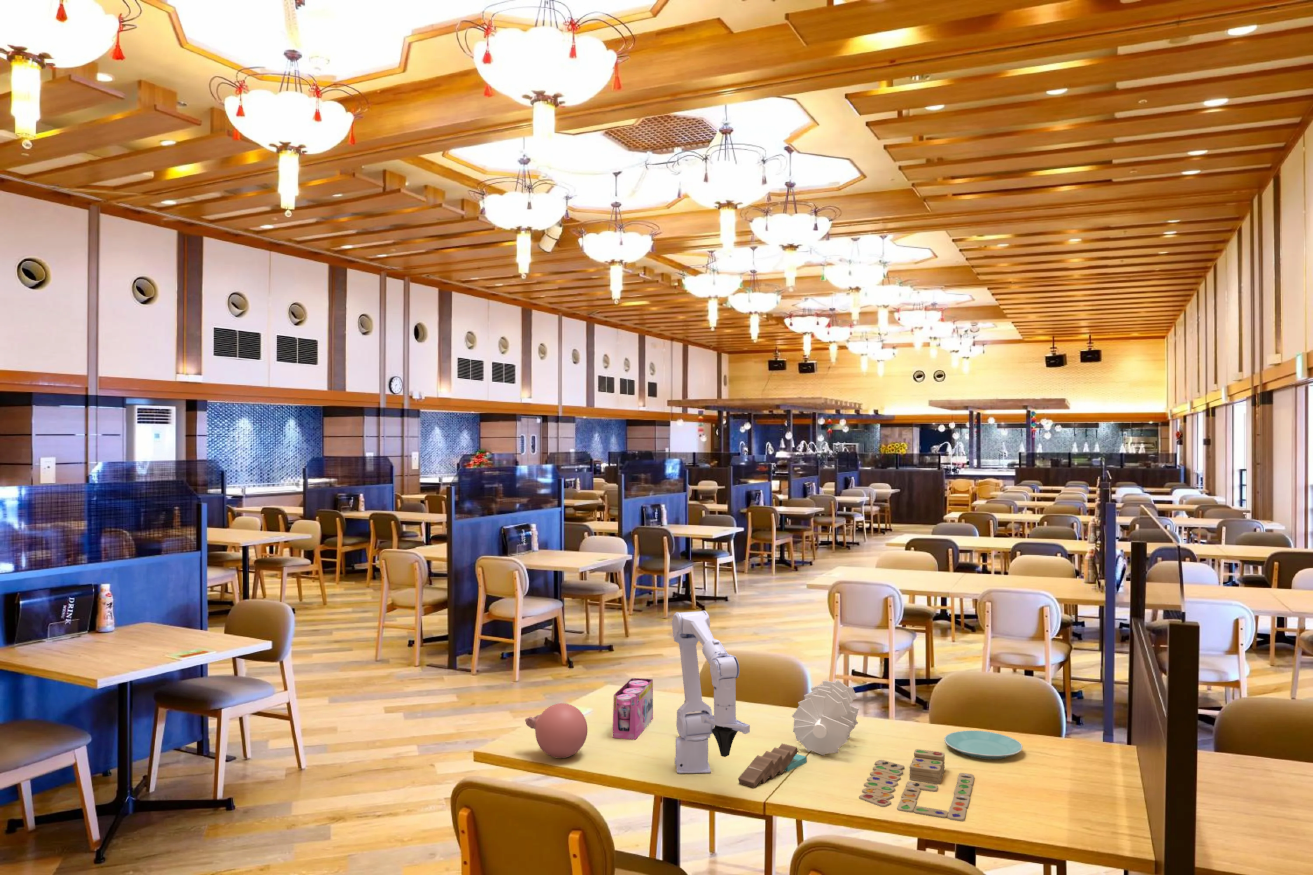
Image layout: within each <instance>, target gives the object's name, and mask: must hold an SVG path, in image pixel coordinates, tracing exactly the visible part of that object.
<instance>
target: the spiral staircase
mask: <svg viewBox="0 0 1313 875" xmlns="http://www.w3.org/2000/svg"><path fill="white" fill-rule="evenodd" d="M810 690H811V692H808V693H806V694H804V695H803V696H804V699H803V700H801V701H798V702H797V704H798V707H797V708H796V710H795V711H794V712H793V714H792V715H791V717H792V718H793V728H792V733H794V735H795V739H796V741H798V742H800V744H801V745H802V746H803V747H804V748H805V750H806V751H807V752H811V751H812V752H813V753H817V754H818V755H821V756H823V757H825V756H826V754H834V753H835V754H836V753H839V752H840V750H839V749H840V748H841V747H842V746H844V745H845V744H846V743H847V742H848V739H849V738H851V735H850V734H851V732H852V731H853V730H854V729H855V728H856V725H857V724H858V723H859V722H858V721H857V717H858V713H859V707H857V706H856V707H855V706H853V705H851V704H852V703H853V702H854V700H856V699H858V696H857V694H856V691H855V690H854V687H853V686H851V685H850V686H847V685H846V684H844V683H843V682H842V681H840V680H839V679H837V680H836V682H835V681H830V680H829V681H828V680H824V679H823V680H822V683H821V684H818V685H815V686H813V687H811V688H810Z"/></svg>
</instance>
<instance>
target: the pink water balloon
mask: <svg viewBox="0 0 1313 875" xmlns="http://www.w3.org/2000/svg"><path fill="white" fill-rule="evenodd" d="M524 721H525V724H526V726H527V727H529V728H530V729H534V732H535V739H536V743H537V745H538V747H539V748H540V749H541V750H542V752H544V753H545V754H546V755H547V756H550V757H552V758H555V759H565V758H569V757H572V756H573V755H575V754H576V753H578V752H579V751H580V750H581V749H582V747H583V746H584V745H585V743H586V740H587V736H588V731H589V730H588V723H587V720H586V717H585V715H584V714H583V713H582V711H581V710H580V709H579V708H578V707H576V706H575V705H572V704H569V703H564V702H563V703H562V702H561V703H555V704H552V705H550V706H548V707H547V708H545V710H544V711H542V712H541V714H537V715H535V716H534V717H531V716H529V717H527V718H525V719H524Z"/></svg>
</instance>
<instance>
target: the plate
mask: <svg viewBox="0 0 1313 875" xmlns="http://www.w3.org/2000/svg"><path fill="white" fill-rule="evenodd" d="M943 739H944V742H945V744H946V745H947V746H948V747H949V748H952V749H953V750H955V751H957V752H959V753H961V754H963V755H965V756H969V757H972V758H976V759H977V758H978V759H982V760H983V759H984V760H1001V759H1005V758H1008V757H1010V756H1014V755H1017V754H1019V753H1020V752H1021V751H1022V750H1023V744H1022V743H1021V742H1020V741H1019V740H1017V739H1015V738H1012V737H1010V736H1007V735H1004V734H1001V733H999V732H993V731H991V732H990V731H988V730H987V731H986V730H960V731H953V732H950V733H948V734H946V735H945V736H944V738H943Z"/></svg>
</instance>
